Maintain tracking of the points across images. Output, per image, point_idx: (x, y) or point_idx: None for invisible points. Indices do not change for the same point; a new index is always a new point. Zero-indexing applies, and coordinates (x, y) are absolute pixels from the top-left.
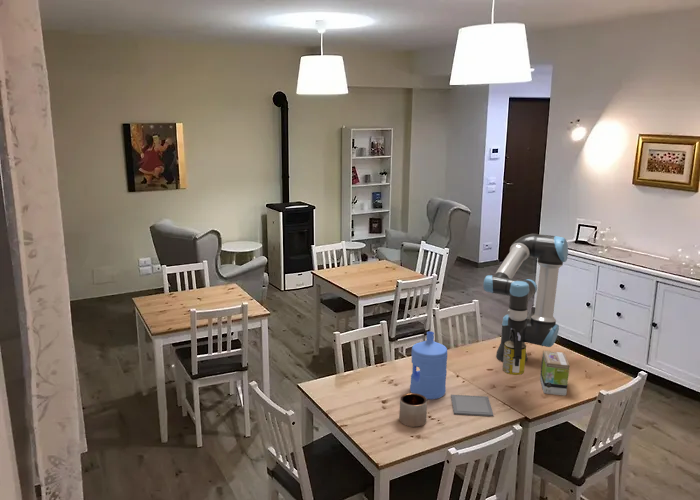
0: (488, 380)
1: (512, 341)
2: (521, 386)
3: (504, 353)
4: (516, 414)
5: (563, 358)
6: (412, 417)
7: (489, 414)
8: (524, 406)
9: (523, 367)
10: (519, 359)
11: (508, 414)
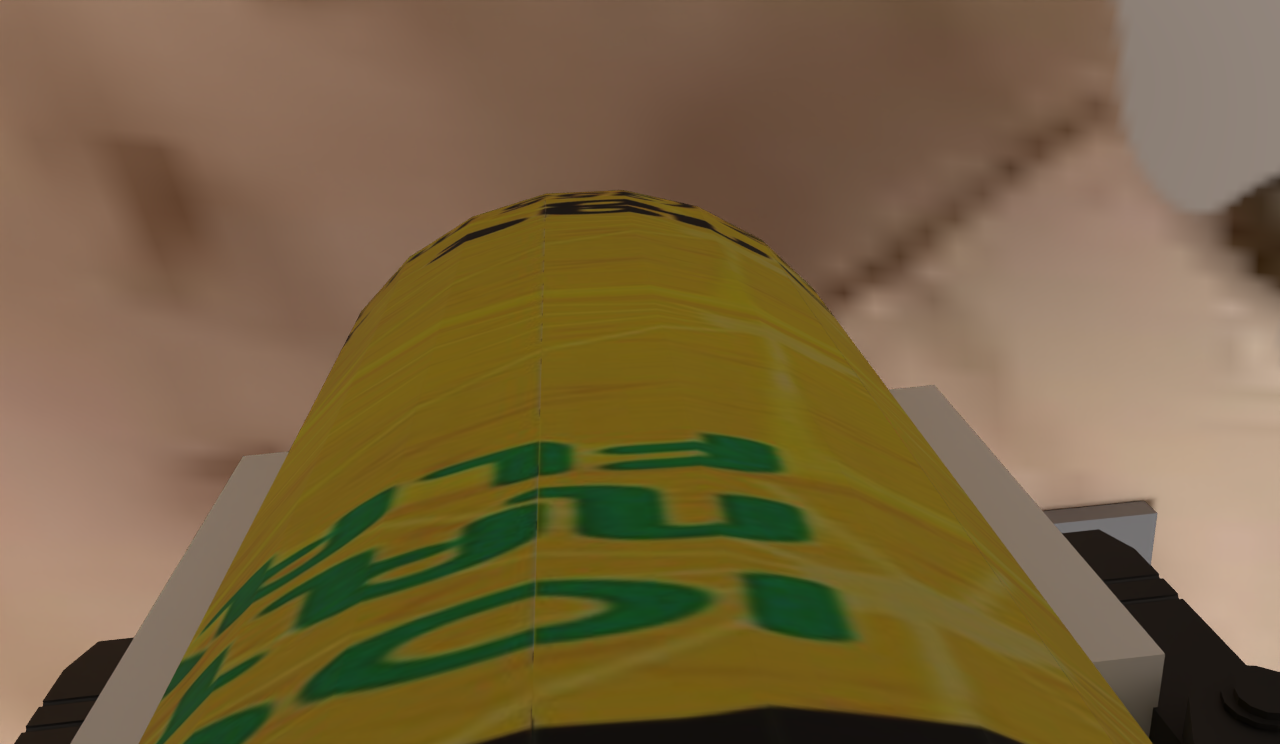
0: (66, 533)
1: None
2: (88, 36)
3: None
4: (1079, 213)
5: None
6: None
7: (1147, 557)
8: (827, 68)
9: (790, 291)
10: (1130, 643)
11: (1082, 319)
